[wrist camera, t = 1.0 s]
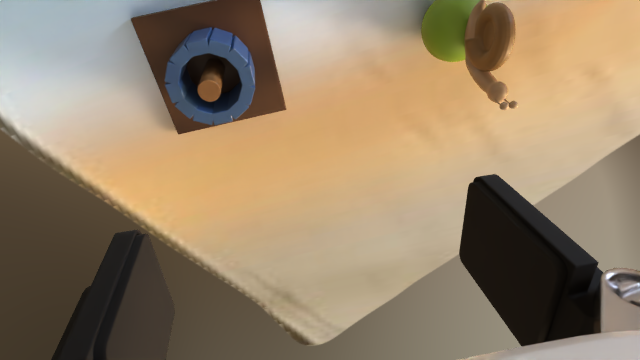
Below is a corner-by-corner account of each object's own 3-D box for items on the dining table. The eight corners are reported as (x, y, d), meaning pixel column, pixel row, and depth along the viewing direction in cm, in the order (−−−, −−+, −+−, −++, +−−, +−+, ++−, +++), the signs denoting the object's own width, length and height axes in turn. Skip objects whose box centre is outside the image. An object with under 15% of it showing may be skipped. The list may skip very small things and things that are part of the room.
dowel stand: (132, 17, 31) (106, 34, 25) (257, -10, 31) (259, 1, 26) (179, 131, 36) (166, 166, 31) (285, 107, 37) (292, 137, 31)
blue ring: (162, 37, 31) (150, 50, 28) (241, 20, 32) (240, 31, 28) (190, 111, 35) (183, 132, 31) (261, 95, 35) (263, 114, 31)
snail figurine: (409, 67, 36) (471, 115, 26) (414, -10, 33) (487, 11, 23) (465, 61, 37) (547, 106, 27) (475, -15, 34) (574, 4, 23)
